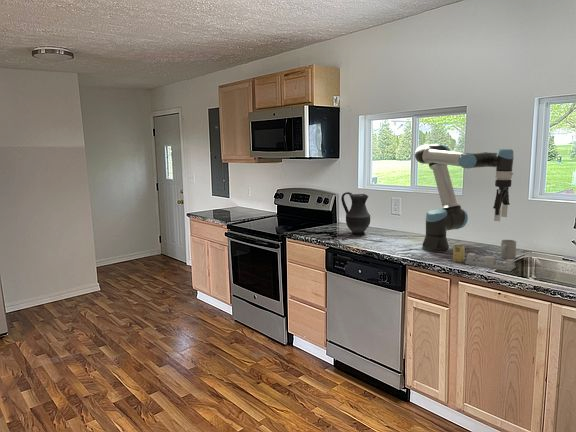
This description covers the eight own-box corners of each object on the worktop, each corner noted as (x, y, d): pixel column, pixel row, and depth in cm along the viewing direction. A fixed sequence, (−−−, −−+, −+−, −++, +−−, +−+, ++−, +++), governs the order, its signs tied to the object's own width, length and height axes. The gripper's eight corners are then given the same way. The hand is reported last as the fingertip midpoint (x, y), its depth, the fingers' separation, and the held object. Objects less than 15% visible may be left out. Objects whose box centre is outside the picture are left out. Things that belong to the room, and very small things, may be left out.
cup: (517, 257, 229) (518, 241, 228) (509, 260, 223) (510, 244, 222) (504, 254, 235) (505, 239, 234) (495, 258, 229) (496, 242, 228)
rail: (464, 263, 220) (465, 255, 219) (471, 260, 227) (471, 251, 226) (510, 271, 205) (511, 262, 204) (516, 267, 212) (516, 258, 211)
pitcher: (364, 238, 286) (364, 194, 281) (337, 235, 297) (336, 193, 292) (373, 233, 301) (374, 191, 295) (347, 230, 311) (346, 190, 306)
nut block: (452, 260, 227) (453, 246, 225) (456, 258, 230) (456, 244, 229) (461, 262, 224) (461, 247, 222) (464, 260, 227) (465, 245, 226)
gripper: (505, 181, 208) (501, 223, 212) (517, 177, 227) (514, 215, 231) (488, 181, 213) (486, 222, 217) (502, 176, 232) (499, 214, 236)
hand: (500, 218), depth 224 cm, fingers open, 13 cm apart
